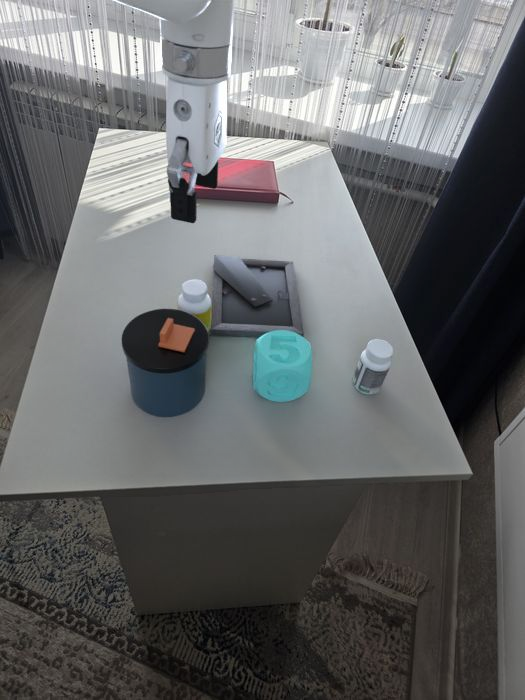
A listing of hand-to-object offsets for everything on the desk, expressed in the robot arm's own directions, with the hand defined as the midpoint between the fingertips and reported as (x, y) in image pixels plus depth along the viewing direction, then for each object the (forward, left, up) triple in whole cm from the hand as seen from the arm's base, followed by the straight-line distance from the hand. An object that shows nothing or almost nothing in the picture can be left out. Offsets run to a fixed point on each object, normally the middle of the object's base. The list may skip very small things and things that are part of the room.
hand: (195, 202), depth 63 cm
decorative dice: (+16, -7, -24) cm, 30 cm away
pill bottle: (+30, -3, -24) cm, 39 cm away
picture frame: (+8, +12, -24) cm, 28 cm away
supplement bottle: (0, 0, -24) cm, 25 cm away
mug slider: (+2, -13, -13) cm, 19 cm away
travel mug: (0, -13, -24) cm, 28 cm away
